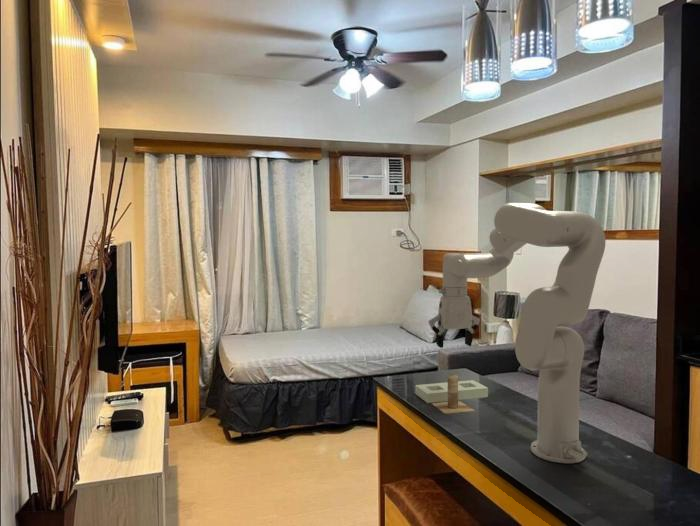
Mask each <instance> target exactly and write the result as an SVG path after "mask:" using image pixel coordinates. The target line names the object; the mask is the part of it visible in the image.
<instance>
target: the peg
mask: <svg viewBox="0 0 700 526" xmlns="http://www.w3.org/2000/svg"><path fill="white" fill-rule="evenodd" d="M458 381H459V375H458V374H448V375H447V382H448V401H447V402H448V408H451V409H456V408H458V401H459V400H458Z"/></svg>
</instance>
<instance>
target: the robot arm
mask: <svg viewBox="0 0 700 526" xmlns="http://www.w3.org/2000/svg"><path fill="white" fill-rule="evenodd" d="M494 215H495V216H494V219H493V223H494V228H493V229H492V230H491V232H490V234H489V243H490V245H491V247H492V249H490V250H488V251H487V252H471V253H469V252H467V253H466V252H465V253H463V252H462V253H461V252H460V253H459V252H450V253H449V252H448V253H445V254H443V257H442V286H441V288H439V289H438V293H439V294H441V295H442V296H440V300H439V303H438V309H437V310H438V311H437V312H438V313H437V315H436V316H435V317H433V318H431V319H429V320H428V325H429V327H430V328H431V330H432V331H433V332H434V334H435V337H436V339H435V344H436V346H437V347H438V348H440V349H442V348H444V334H443V333H444V332H445V331H446V330H461V329H462V330H463V329H465V333H464V345H466V346H469V347H472V343H473V334H474V333H475V331H476V330H477V328H478V327H479V325H480V324H479V323H480V322H481V319H480V317H477V316H475V315H473V309H472V301H471V297H470V296H468V279H477V278H489V277H490V278H491V277H493V276H495V275H497V274H498V273H500V272H502V271H503V270H505V269H506V268H507V267H508V266H510V264H511V263H512V260H513V258H514V255H515V253H516V252H517V251H519V250H520V249H521V248H523V247H524V246H525V245H527V244H529V245H532V246H537V247H541V248H542V247H543V248H554V247H555V248H558V247H559V248H560V247H561V248H562V247H567V248H568V250H567V252H566V253H565V255H564V256H563V257H562V259H561V261H560V263H559V265H558V268H557V272H556V273H557V274H556V276H555V280H554V282H553V285H552V286H546V287H545V286H544V287H539V288H536V289H534V290H533V291H531V292H530V293H529V294H528V296H527V297H526V299H525V301H524V303H523V306H522V310H521V315H520V319H519V324H518V327H517V328H518V329H517V331H516V332H517V333H516V336H515V337H516V338H515V341H514V342H515V344H514V345H515V346H514V352H515V355H516V359H517V361H518V363H519V364H520V365H521V366H522V367H523V368H525V369H527V370H531V371H539V374H538V379H537V380H538V381H537V436H536V437H537V438H536V440H534V441H533V442H531V443H530V450H531V451H530V452H532V453H533V454H534V455H535V456H536V457H538V458H539V459H542V460H545V461H548V462H552V463H559V464H576V463H581V462H583V461H584V460H585V459H586V457H587V456H588V452H587V450H585V449H584V448H583V447H582V441H581V440H580V439H579V438H580V383H581V371H582V367H583V361H584V356H585V344H584V341H583V338H582V336H581V335H580V333H579V332H577V331H576V330H575V329H573V328H571V327H568V326H573V325H576V324H577V325H578V324H579V323H581V322H583V321H584V320H585V319H586V316H587V314H588V312H589V308H590V304H591V300H592V296H593V292H594V288H595V284H596V278H597V276H598V272H599V269H600V266H601V262H602V259H603V257H604V254H605V249H606V242H607V241H606V233H605V231H604V229H603V227H602V225H601V224H600V222H599V220H597V219H596V218H594V217H593V216H591V215H590V214H588V213H584V212H582V211H571V210H564V211H563V210H561V211H560V210H547V209H546V208H545V207H543V206H542V205H541V204H537V203H528V202H508V203H505V204H504V205H501V207H499V208H498V210H497V211H496V212H495V214H494ZM436 323H437V325H438V326H436Z"/></svg>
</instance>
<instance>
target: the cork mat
mask: <svg viewBox="0 0 700 526" xmlns="http://www.w3.org/2000/svg"><path fill="white" fill-rule="evenodd" d="M431 405H433V406H434V407H435V408H437V409H438V410H439V411H441V412H442V413H443V414H444V415H447V414H448V415H450V414H457V413H467V412H475V411H476V410H474V409H473V408H472V407H470V406H468V405H467V404H465V403H464V402H463V401H462V400H458V408H456V409H451V408H448V401H443V402H433V403H431Z"/></svg>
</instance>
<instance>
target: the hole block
mask: <svg viewBox="0 0 700 526" xmlns="http://www.w3.org/2000/svg"><path fill="white" fill-rule="evenodd" d="M414 389H415V395H416V396H418V397H419V398H420V399H421V400H423V401H424V402H425V403H426V404H432V403H442V402H448V381H446V382H436V383H426V384H425V383H424V384H416V385H415V388H414ZM488 397H489V387H487V386H485V385H483V384H482V383H480V382H478V381H475V380H474V379H471V380H460V381H459V380H458V401H462V400H463V401H464V400H469V399H472V400H473V399H480V398H481V399H483V398H488Z"/></svg>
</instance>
